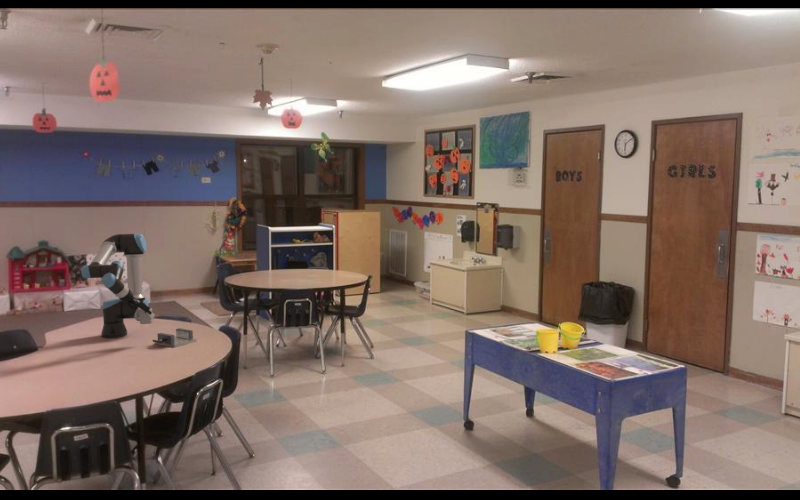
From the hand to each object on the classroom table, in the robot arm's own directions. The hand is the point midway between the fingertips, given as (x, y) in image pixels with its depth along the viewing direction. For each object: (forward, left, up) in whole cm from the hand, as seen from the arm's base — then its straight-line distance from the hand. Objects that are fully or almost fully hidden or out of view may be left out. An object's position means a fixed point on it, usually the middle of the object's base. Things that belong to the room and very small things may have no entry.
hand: (148, 315), depth 384 cm
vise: (+13, +5, -17) cm, 22 cm away
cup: (-1, -3, -4) cm, 5 cm away
